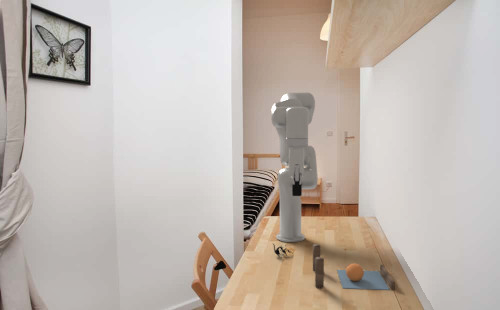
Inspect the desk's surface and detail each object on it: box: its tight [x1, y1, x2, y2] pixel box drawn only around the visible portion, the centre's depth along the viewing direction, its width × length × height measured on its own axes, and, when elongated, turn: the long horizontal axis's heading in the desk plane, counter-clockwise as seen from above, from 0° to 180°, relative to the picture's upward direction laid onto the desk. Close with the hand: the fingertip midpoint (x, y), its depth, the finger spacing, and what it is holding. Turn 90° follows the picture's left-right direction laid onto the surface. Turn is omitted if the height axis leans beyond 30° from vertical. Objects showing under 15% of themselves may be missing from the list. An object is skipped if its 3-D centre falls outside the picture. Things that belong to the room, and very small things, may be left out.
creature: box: [272, 243, 293, 259], centre depth 140 cm, size 8×5×8 cm
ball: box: [345, 263, 365, 281], centre depth 117 cm, size 6×6×6 cm
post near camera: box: [314, 256, 325, 289], centre depth 113 cm, size 3×3×9 cm
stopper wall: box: [379, 264, 396, 291], centre depth 117 cm, size 14×1×2 cm, turn 174°
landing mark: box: [336, 269, 391, 291], centre depth 118 cm, size 14×14×1 cm
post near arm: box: [312, 243, 321, 273], centre depth 126 cm, size 3×3×9 cm
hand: (296, 195), depth 127 cm, fingers closed
